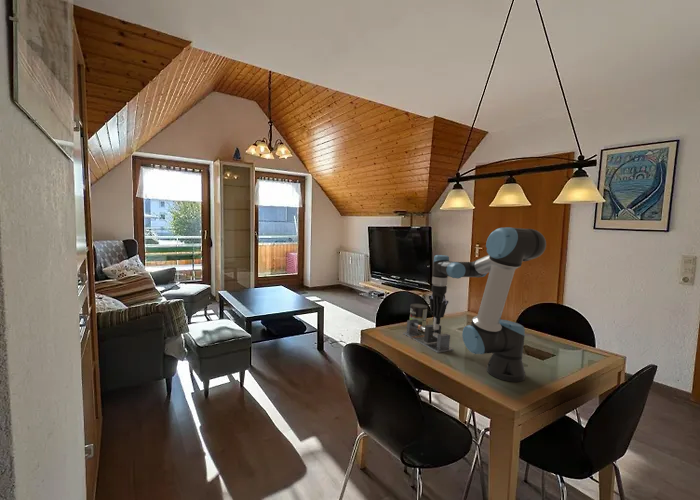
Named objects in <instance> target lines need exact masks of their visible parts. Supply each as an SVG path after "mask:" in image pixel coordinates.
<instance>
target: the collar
mask: <svg viewBox="0 0 700 500" xmlns="http://www.w3.org/2000/svg"><path fill="white" fill-rule="evenodd" d="M431 331H434V332H436V333H438V334H442V325H440V324H439V330H434V329H433V324H428V325H427V324H426V325H425V332H424V333H423V334H424V341H425V342H427V343H431V342H437V338H436V337H434V336H432V335H431Z"/></svg>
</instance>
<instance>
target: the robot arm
mask: <svg viewBox="0 0 700 500" xmlns="http://www.w3.org/2000/svg"><path fill="white" fill-rule="evenodd" d="M546 240H547V239H546V238H545V236H544V235H543V234H542V233H541V232H540V231H538V230H536V229H534V228H523V227H522V228H520V227H518V228H517V227H510V226H508V227H506V226H505V227H498V228H496V229H495V230H493V231H492V232H491V233H490V234H489V236H488V237H487V240H486V244H485V248H486V253H487V255H484V256H483V257H481V258H478V259H475V260H474V261H452V260H450V256H449V255H447V254H446V255H444V254H436V255H434V256H433V265H432V277H431V284H432V285H431V289H430V290H431V292H432V294H431V295H428V299H429V308H430V309H429V310H430V311H429V312H430V315H432V317H433V318H432V319H433V320H432V323H433V324H432V325H433V329H434V330H439V325H440V324H441V318H442V319H443V318H444V317H445V313H446V309H447V306H448V304H449V303H450V302H449V300H447V299H446V293H447V290H448V277H450V278H452V279H461V278H484V277H486V275H487V274H488V276H487V280H486V283H485V287H484V291H483V295H482V298H481V302H480V306H479V309H478V312H477V315H475V316H474V317H472V319H471V323H470V324H468V325H465V326H464V327H463V330H462V341H463V343H464V345H465V347H466V349H467V350H468V351H469V352H470V353H471V354H474V355H484V354H492V355H491V356H490V358H489V360H488V363H487V365H486V371H487V372H486V373H488V374H490V375H491V376H492V377H494V378H496V379H500V380H501V381H502V380H503V381H505V382H514V383H517V382H523V381H524V380H525V379H526V370H525V367H524V362H523V355H524V353H523V352H524V345H525V337H526V335H525V333H526V332H525V330H526V329H525V326H524V325H522V324H520V323H518V322H516V321H511V320H508V319H502V314H503V311H504V308H505V305H506V303H507V298H508V295H509V291H510V288H511V284H512V282H513V278H514V275H515V272H516V270H517V269H518V268H521V266H522V264H523V262H529V261H531V260H534V259H537V258H539V257H541V256H542V255H543V254H544V252H545V251H546V249H547V241H546ZM434 330H433V331H434Z"/></svg>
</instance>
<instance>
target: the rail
mask: <svg viewBox="0 0 700 500" xmlns="http://www.w3.org/2000/svg"><path fill="white" fill-rule="evenodd" d="M418 329H419V330H422V332H421V331H418ZM423 332H424V333H423ZM402 334H403V335H404V334H405V335H404V336H406V335H407V337H409V339H412V340H413V339H414V341H415V340H416V342H417V343H419V344H421V345H423V346H424V347H426V348H428V349H429V350H432V351H433V352H435V353H437V354H440V353H447V352H452V351H454V349H453V348H452V347H450V343H451V342H450V341H451V335H450V334H449V333H441V334H438V333H436V332H434V330H433V331H431V336H434V337H436V338H437V342H431V343H427V342H425V341H424V334H425V327H423V326H422V325H420V324H418V320H416V319H414V320H410V319H407V322H406V331H403V332H402Z"/></svg>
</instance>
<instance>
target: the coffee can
mask: <svg viewBox="0 0 700 500" xmlns="http://www.w3.org/2000/svg"><path fill="white" fill-rule="evenodd" d="M409 309H410V311H409V313H410V314H409V320H414V319H416V320H418V324H420V325H422V326H423V327H425V325H427V320H428V319H427V318H428V317H427V316H428V305H426V304H423V303H411V304H410V307H409ZM418 330H419V329H418ZM421 331H422V330H420V331H419V332H421ZM422 332H423V331H422Z"/></svg>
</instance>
